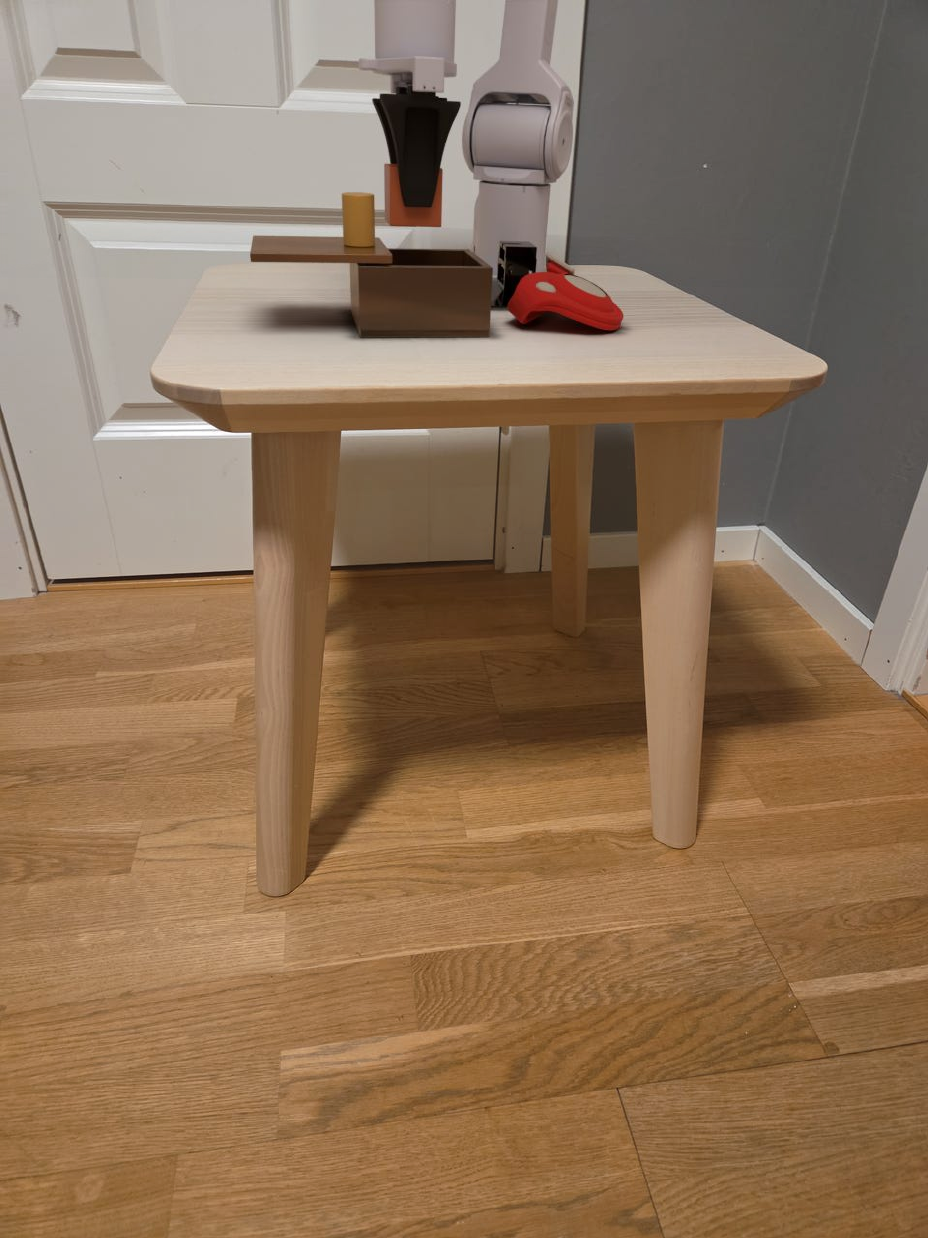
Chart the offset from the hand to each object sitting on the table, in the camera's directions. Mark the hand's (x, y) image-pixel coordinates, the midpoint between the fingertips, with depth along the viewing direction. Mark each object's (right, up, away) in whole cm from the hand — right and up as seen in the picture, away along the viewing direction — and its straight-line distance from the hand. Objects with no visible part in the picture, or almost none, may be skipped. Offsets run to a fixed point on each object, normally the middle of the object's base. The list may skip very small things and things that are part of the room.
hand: (413, 203), depth 64 cm
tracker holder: (+13, -7, +6) cm, 16 cm away
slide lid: (-7, -5, -2) cm, 9 cm away
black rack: (+9, -2, +14) cm, 16 cm away
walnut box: (0, -9, +2) cm, 9 cm away
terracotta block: (0, -1, +1) cm, 1 cm away
